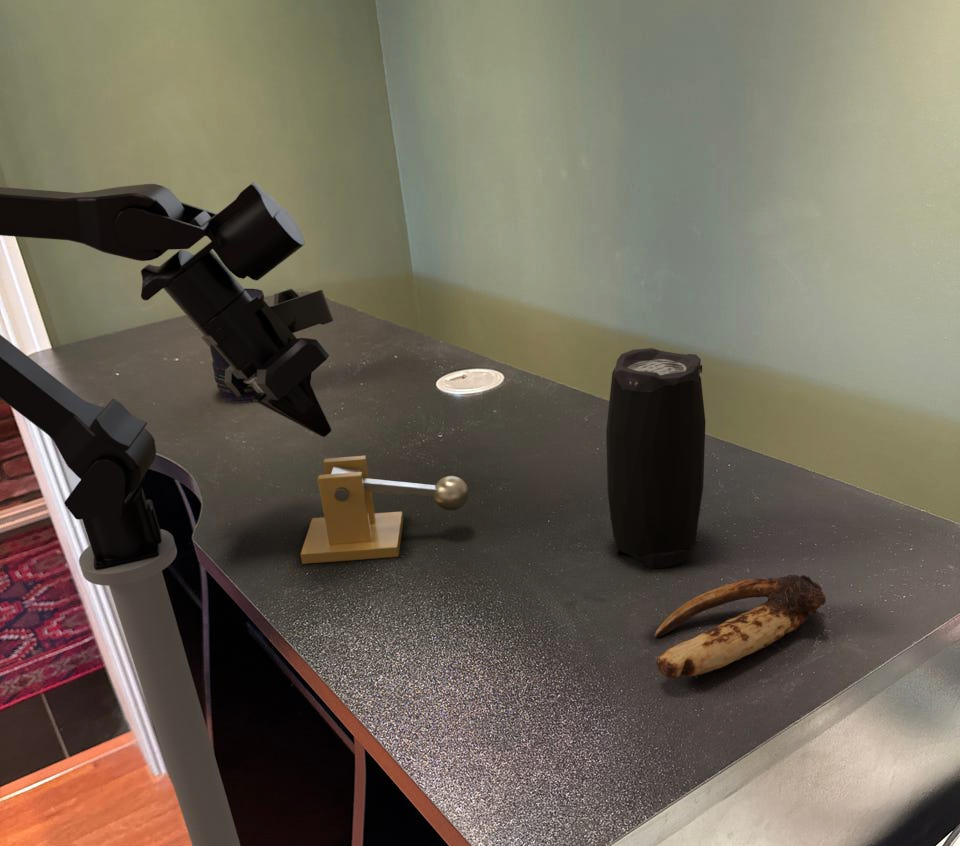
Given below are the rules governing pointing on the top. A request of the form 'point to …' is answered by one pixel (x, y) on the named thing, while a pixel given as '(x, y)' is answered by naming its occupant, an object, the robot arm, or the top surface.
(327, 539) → the tap bracket
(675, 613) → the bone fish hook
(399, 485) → the tap lever
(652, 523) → the portable speaker
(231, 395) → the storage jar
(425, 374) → the top surface
